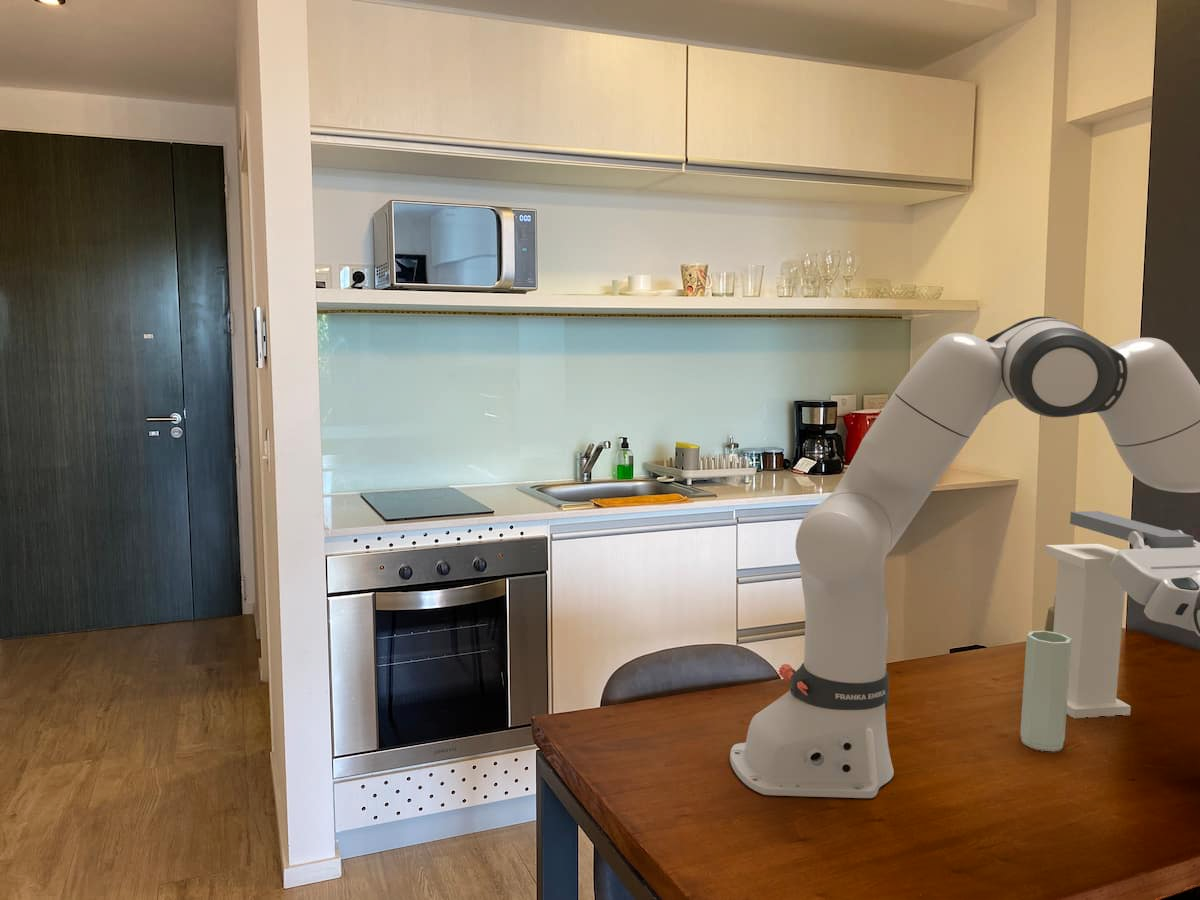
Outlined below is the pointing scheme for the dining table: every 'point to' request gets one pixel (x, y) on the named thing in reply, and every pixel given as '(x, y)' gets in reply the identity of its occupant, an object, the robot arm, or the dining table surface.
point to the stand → (1090, 627)
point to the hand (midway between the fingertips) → (1153, 533)
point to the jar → (1045, 690)
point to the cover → (1130, 529)
